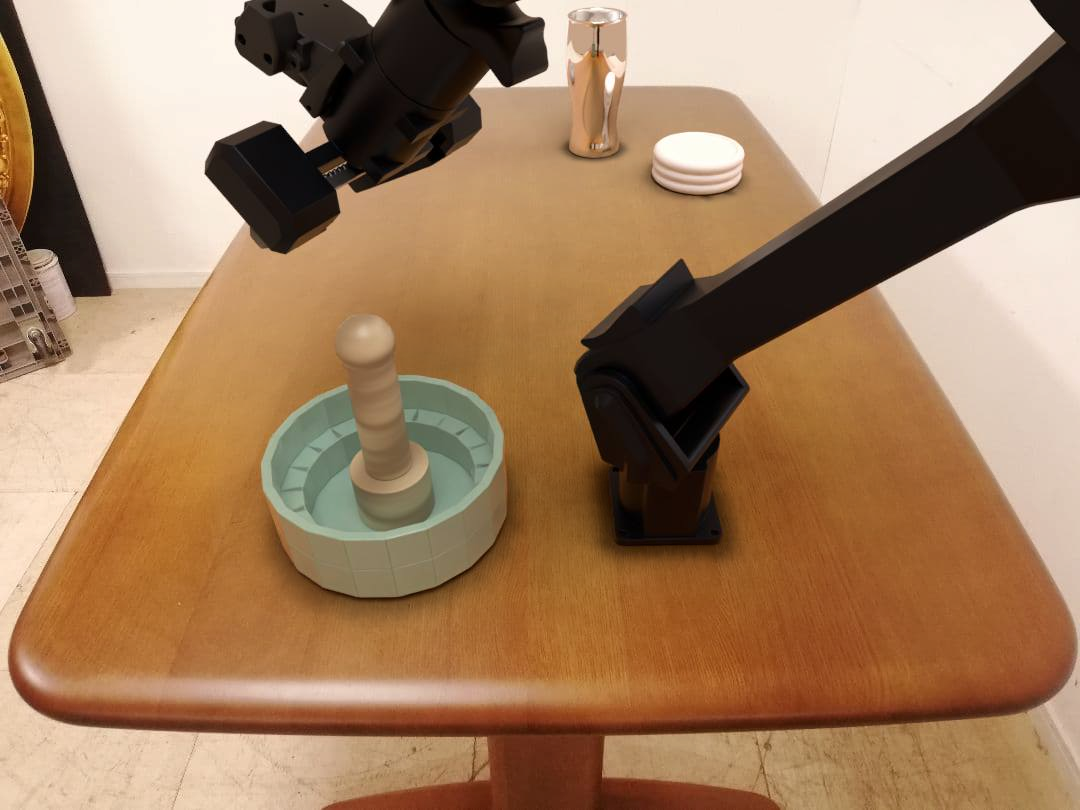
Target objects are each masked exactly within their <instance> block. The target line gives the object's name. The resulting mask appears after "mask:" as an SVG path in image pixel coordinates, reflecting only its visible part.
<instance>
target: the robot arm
mask: <svg viewBox="0 0 1080 810" xmlns="http://www.w3.org/2000/svg"><path fill="white" fill-rule="evenodd" d="M520 1H521V0H390V1H389V3H387V6H386V7H385V9H384V10H383V12H382V14H381V15H380V17H379V18H378V19H377V21H376V23H375V24H374V25H372V24H370V23H369V21H368V19H367V18H366V17H365V15H364V14H362V13H361V12H359V11H358V10H356V9H355V8H354V7H352V6H351V5H350V4H348V3H347V2H345V1H344V0H247V1H244V2H243V11H242V12H241V14H240V15H238V16H236V17H235V18H234V20H233V21H234V27H235V28H234V29H235V30H234V31H235V32H234V46H235V48H236V50H237V53H238V54H239V56H241V57H242V58H243V59H245V61H247V62H248V63H249V64H251V65H253V66H254V67H255V68H257V69H258V70H259V71H261V72H262V73H263V74H264V75H266V76H267V77H273V76H275V75H278V74H280V73H283V74H284V75H285V76H286V77H288V78H289V79H291V80H292V81H293V82H295V83H296V84H298V85H300V86H301V87H304V88H305V89H304V91H303V92H302V94H301V96H300V97H299V100H298V102H299V103H300V104H301V106H302V107H303V108H304V109H305V111H306V112H307V113H308V114H309V115H310V117H311V118H312V119H318V118H320V119H321V120H322V122H323V123H322V130H323V133H324V135H325V138H326V139H327V141H326V142H324V143H322V144H320V145H318V146H316V147H314V148H312V149H310V150H308V151H306V152H305V151H304V150H303V149H302V148H301V146H300V145H299V144H298V143H297V142H296V140H295V139H294V138H293V137H292V135H291V134H290V133H289V132H288V131H287V130H286V128H285V127H284V126H283V125H282V123H277V122H273V121H269V120H261V121H259V122H256V123H255V124H252V125H250V126H248V127H245V128H243V129H240V130H239V131H236V132H234V133H232V134H229V135H226V136H225V137H222V138H220V139H218V140H216V141H215V142H214V143H213V146H212V147H211V149H210V151H209V153H208V154H207V157H206V159H205V161H204V173H203V174H204V175H205V177H206V178H207V179H208V180H209V181H210V183H212V185H213V186H214V187H215V188H216V190H218V192H219V193H220V194H221V195H222V197H224V198H225V200H226V201H227V202H228V203H229V204H230V205H231V207H232V208H233V209H234V210H235V211H236V212H237V214H238V215H239V216H240V217H241V219H243V220H244V221H245V223H246V224H247V225H248V226H249V236H250V238H251V239H252V241H253V242H254V243H255V244H256V245H257V246H258V247H259V249H261V250H264V249H269V250H270V251H271V252H273V253H278V254H281V255H288V254H289V253H290V252H292V251H294V250H296V249H298V248H300V247H301V246H304V245H305V244H306V243H308V242H309V241H311V240H312V239H314V238H316V237H318V236H320V235H321V234H323V233H325V232H326V231H327V228H328V227H329V226H331V225H332V224H333V223H334V222H335V221H336V219H337V218H338V217H339V216H340V214H341V213H342V212H341V208H340V207H341V206H340V202H339V197H338V192H337V191H338V190H339V189H341V188H343V187H345V186H346V185H348V186H349V187H350V189H351V190H352V191H353V192H354V193H356V194H359V193H362V192H365V191H367V190H371V189H374V188H376V187H379V186H381V185H384V184H387V183H390V182H391V181H395V180H397V179H401V178H403V177H405V176H408V175H411V174H413V173H416V172H419V171H422V170H424V169H427V168H430V167H433V166H435V164H437V163H439V162H440V161H442V160H444V159H445V158H447V157H449V156H451V154H453V153H454V152H456V151H458V150H459V149H461V148H463V147H464V146H466V145H468V144H469V142H471V141H472V139H474V137H475V136H477V134H478V133H479V132H480V131H481V130H482V129H483V121H482V120H483V119H482V118H483V117H482V107H480V105H479V104H478V102H477V101H476V100H475V98H473V96H472V95H471V92H472V91H473V90H474V89H475V87H476V86H477V85H478V84H479V83H480V82H481V80H483V79H484V78H485V76H486V75H487V74H488V72H489V71H490V72H492V74H493V75H494V76H495V78H496V79H497V81H498V82H499V83H500V85H501V86H502V87H504V88H507V89H508V88H511V87H514V86H516V85H518V84H521V83H523V82H525V81H527V80H529V79H532V78H534V77H536V76H538V75H540V74H543V73H545V72H546V71H548V68H549V64H550V63H549V57H548V47H547V44H546V41H545V29H546V22H545V19H544V18H543V17H541V16H530V15H528V14H526V13H525V12H524V11H523V10H522V9H521V8H520V7H519V5H518V4H517V2H520ZM1029 1H1030V3H1031V4H1032V6H1033V7H1034V9H1035V10H1036V12H1037V13H1038V14H1039V16H1040V17H1041V18H1042V19H1043V20H1044V22H1046V24H1047V25H1048V26H1049V27H1050V28H1051V29H1052V30H1053V32H1052V33H1051V34H1049V36H1047V38H1046V39H1045V40H1044V41H1043V42H1042V43H1040V45H1039V46H1037V47H1036V48H1035V49H1034V50H1033V51H1032V52H1031V53H1030V54H1029V55H1028V56H1026V58H1024V60H1023V61H1021V63H1020V64H1018V66H1016V68H1015V69H1013V71H1011V72H1010V73H1009V74H1008V75H1007V76H1006V77H1004V79H1003V80H1002V81H1001V82H1000V83H998V85H997V86H995V88H994V89H992V90H991V91H990V92H989V93H988V94H987V95H986V96H985V97H984V98H983V99H982V100H980V101H979V102H977V104H975V105H974V106H972V107H971V108H969V109H968V110H966V111H965V112H963V113H961V114H960V115H959V116H957V117H956V118H954V119H953V120H951V121H950V122H948V123H946V124H945V125H944V126H942V127H941V128H939V129H938V130H936V131H934V132H933V133H932V134H930V135H928V136H927V137H925V138H924V139H922V140H920V141H919V142H918V143H917V144H915V145H913V146H912V147H910V148H909V149H907V150H906V151H904V152H903V153H901V154H899V155H897V157H895V158H893V159H892V160H890V161H889V162H887V163H885V164H884V165H883V166H881V167H880V168H878V169H877V170H875V171H874V172H872V173H871V174H869V175H868V176H866V177H864V178H863V179H862V180H860V181H858V182H857V183H855V184H854V185H852V186H851V187H850V188H848V189H846V190H845V191H844V192H842V193H840V194H839V195H837V196H836V197H834V198H833V199H831V200H830V201H828V202H826V203H825V204H824V205H822V206H820V207H819V208H817V209H816V210H815V211H813V212H812V213H809V214H808V215H807V216H805V217H803V218H802V219H801V220H800V221H797V222H796V223H795V224H793V225H792V226H790V227H788V228H787V229H785V230H784V231H782V232H781V233H780V234H778V235H777V236H775V237H774V238H772V239H770V240H769V241H767V242H766V243H765V244H763V245H761V246H760V247H758V248H757V249H755V250H754V251H752V252H751V253H749V254H747V255H746V256H744V257H743V258H741V259H740V260H739V261H737V262H735V263H734V264H732V265H731V266H729V267H728V268H726V269H725V270H723V271H721V272H719V273H716V274H713V275H710V276H702V277H701V276H700V277H695V278H694V275H693V274H692V272H691V271H690V269H689V266H688V265H687V263H686V262H685V260H684V259H683V258H679V259H678V260H677V261H676V262H675V263H674V264H673V265H672V266H671V267H670V268H668V269H667V270H666V271H665V272H664V273H663V274H662V275H661V276H660V277H659V278H658V279H656V281H655V282H652V283H649V284H644V285H639V286H638V287H637V288H636V289H635V290H634V291H632V292H631V294H629V295H627V297H626V298H625V299H624V300H622V302H621V303H619V305H617V306H616V307H615V308H614V309H613V310H612V311H610V313H608V315H606V316H605V317H604V318H603V319H602V320H600V322H599V323H597V324H596V326H595V327H593V328H592V329H591V330H590V331H589V332H588V333H586V334H585V336H584V337H582V338H581V339H580V344H581V345H582V346H583V347H585V348H587V350H585V352H583V354H582V355H581V356H579V358H578V359H577V360H576V361H575V364H574V367H573V373H574V375H575V383H576V386H577V389H578V391H579V392H578V393H579V395H580V397H581V402H582V405H583V407H584V410H585V413H586V417H587V421H588V423H589V425H590V429H591V431H592V435H593V438H594V441H595V445H596V448H597V450H598V453H599V456H600V459H601V460H602V461H603V462H605V463H607V464H609V465H610V466H609V467H608V472H607V473H608V483H609V494H610V503H611V504H610V505H611V513H612V515H611V516H612V522H613V523H612V524H613V532H614V533H613V534H614V540H615V542H616V543H617V544H619V545H634V546H635V545H680V544H681V545H692V544H693V545H694V544H696V545H697V544H699V545H700V544H701V545H703V544H719V543H720V542H721V541H722V540H723V539H722V538H723V529H722V525H721V522H720V521H721V520H720V517H719V512H718V508H717V504H716V500H715V497H714V491H713V484H714V481H715V480H714V479H715V473H716V468H717V461H718V456H719V451H720V446H721V434H720V432H721V431H722V429H723V428H724V427H725V426H726V424H727V422H728V421H729V420H730V419H731V417H732V416H733V414H734V413H735V412H736V410H737V409H738V408H739V406H740V405H741V403H742V402H743V401H744V400H745V398H746V397H747V395H748V394H749V393H750V391H751V387H750V385H749V383H748V381H747V380H746V379H745V378H744V376H743V375H742V373H741V372H740V371H739V369H738V368H737V367H736V365H735V364H734V362H735V361H736V360H738V359H740V358H742V357H744V356H746V355H747V354H749V353H751V352H753V351H755V350H757V349H759V348H760V347H762V346H763V347H764V346H765V345H766V344H768V343H770V342H772V341H774V340H776V339H778V338H780V337H782V336H783V335H785V334H787V333H789V332H791V331H793V330H795V329H797V328H799V327H801V326H802V325H804V324H806V323H808V322H810V321H812V320H813V319H816V318H818V317H819V316H821V315H824V314H825V313H827V312H829V311H831V310H833V309H835V308H836V307H839V306H840V305H842V304H844V303H846V302H848V301H850V300H851V299H854V298H855V297H857V296H860V295H861V294H863V293H866V292H867V291H869V290H871V289H872V288H874V287H877V286H878V285H880V284H882V283H884V282H886V281H888V280H889V279H891V278H894V277H895V276H897V275H898V274H901V273H903V272H905V271H907V270H909V269H911V268H913V267H914V266H916V265H918V264H920V263H922V262H924V261H926V260H927V259H929V258H931V257H934V256H935V255H937V254H939V253H941V252H943V251H945V250H946V249H948V248H950V247H953V246H954V245H956V244H958V243H960V242H962V241H964V240H966V239H968V238H970V237H971V236H973V235H975V234H977V233H979V232H981V231H983V230H984V229H986V228H988V227H991V226H992V225H993V224H996V223H998V222H999V221H1002V220H1004V219H1006V218H1007V217H1009V216H1011V215H1013V214H1015V213H1018V212H1021V211H1023V210H1026V209H1029V208H1033V207H1036V206H1041V205H1048V204H1055V203H1059V202H1064V201H1070V200H1077V199H1080V0H1029Z"/></svg>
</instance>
